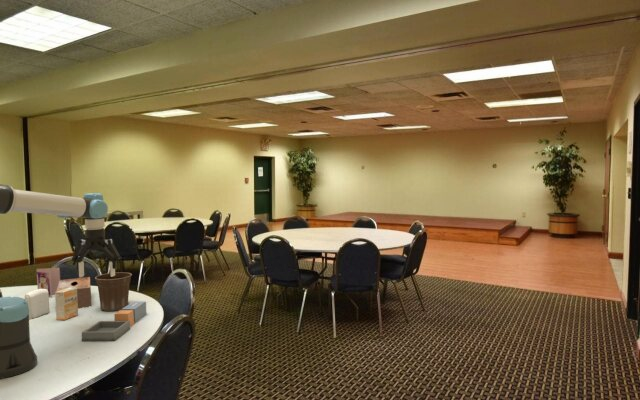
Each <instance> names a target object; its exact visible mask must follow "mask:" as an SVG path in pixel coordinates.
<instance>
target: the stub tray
mask: <svg viewBox="0 0 640 400" xmlns="http://www.w3.org/2000/svg"><path fill="white" fill-rule="evenodd" d="M130 330H131V326H130V321H115V320H99V321H97V322H95V323H94V324H92V325H91V326H89V327H88V328H87V329H84V330H83V331H81V342H115V341H117V340H118V339H119V338H120V337H122V336H123V335H125V334H126V333H127V332H128V331H130Z"/></svg>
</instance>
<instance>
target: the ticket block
mask: <svg viewBox="0 0 640 400" xmlns="http://www.w3.org/2000/svg"><path fill="white" fill-rule="evenodd" d="M121 310H134V324H135V323H136V322H138V321H139V320H140V319H142V318H143V317H145V316H146V315H147V301H145V300H144V301H143V300H142V301H140V300H139V301H132V302H130V303H128V305H127V306H126V307H124V308H122V309H121Z"/></svg>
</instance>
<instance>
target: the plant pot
mask: <svg viewBox="0 0 640 400" xmlns="http://www.w3.org/2000/svg"><path fill="white" fill-rule="evenodd" d="M132 276H133V274H132V273H131V272H126V271H125V272H121V271H120V272H119V271H117V272H115V276H113V277H111V273H110V272H109V273H103V274H99V275H96V276H95V277H94V279H95V281H96V287H97V290H98V298H99V306H100V310H101V311H105V312H115V311H117V312H118V311H120V310H121V309H122V308H124V307H126V306H127V305H129V294H130V285H131V277H132Z"/></svg>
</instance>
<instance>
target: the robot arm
mask: <svg viewBox="0 0 640 400" xmlns="http://www.w3.org/2000/svg"><path fill="white" fill-rule="evenodd" d="M108 210H109V207H108V204H107V202H106V201H104V195H103V194H102V193H99V192H97V193H96V192H94V193H93V192H92V193H84V195H83V197H76V196H69V195H61V194H52V193H48V192H47V193H45V192H40V191H39V192H38V191H30V190H22V189H14V188H13V187H12V186H11V185H8V184H1V183H0V214H2V215H4V214H5V215H6V214H8V213H10V212H15V213H26V214H40V215H48V216H49V215H50V216H51V215H52V216H57V217H58V218H60V219H68V218H78V219H80V218H81V219H82V218H83V219H84V228H85V233H84V234H85V239H83V238H82V239H78V243H77V247H76V249H75V251H74V253H73V256H72V258H71V261H72V262H75V263H76V269H77V270H78V278H84V276H85V265H84V264H85V263H84V262H85V261H84V258H85V257H86V256H87V254H88V253H89V252H90V251H94V250H97V251H99V250H100V251H102V252H103V254H105V256H106V257H107V258H108V259H109V260H110V261H109V266H110V267H109V268H110V271H109V273H111V277H113V276H115V273H116V269H118V262H117V261H119V260H122V257H121V255H120V253H119V252H118V249H117V248H116V245H115V244H114V240H113V238H109V239H106V229H105V228H104V227H105V217H106V215H107V214H108ZM106 244H107V245H106ZM84 245H86V246H85V248H84ZM107 246H108V247H107ZM83 248H84V250H83ZM82 250H83V251H82ZM37 365H38V355H37V353H36V352H35V350H34V347H33V345H32V342H31V331H30V319H29V308H28V303H27V301H26V300H25V298H24V297H19V296H3V292H2V290H1V289H0V379H3V378H2V377H6V378H10V376H11V377H15V376H18V375H20V374H23V372H24V373H26V372H28V371H30V370H32V369H33V368H35V367H36V366H37ZM17 374H18V375H17ZM14 375H15V376H14Z"/></svg>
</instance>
